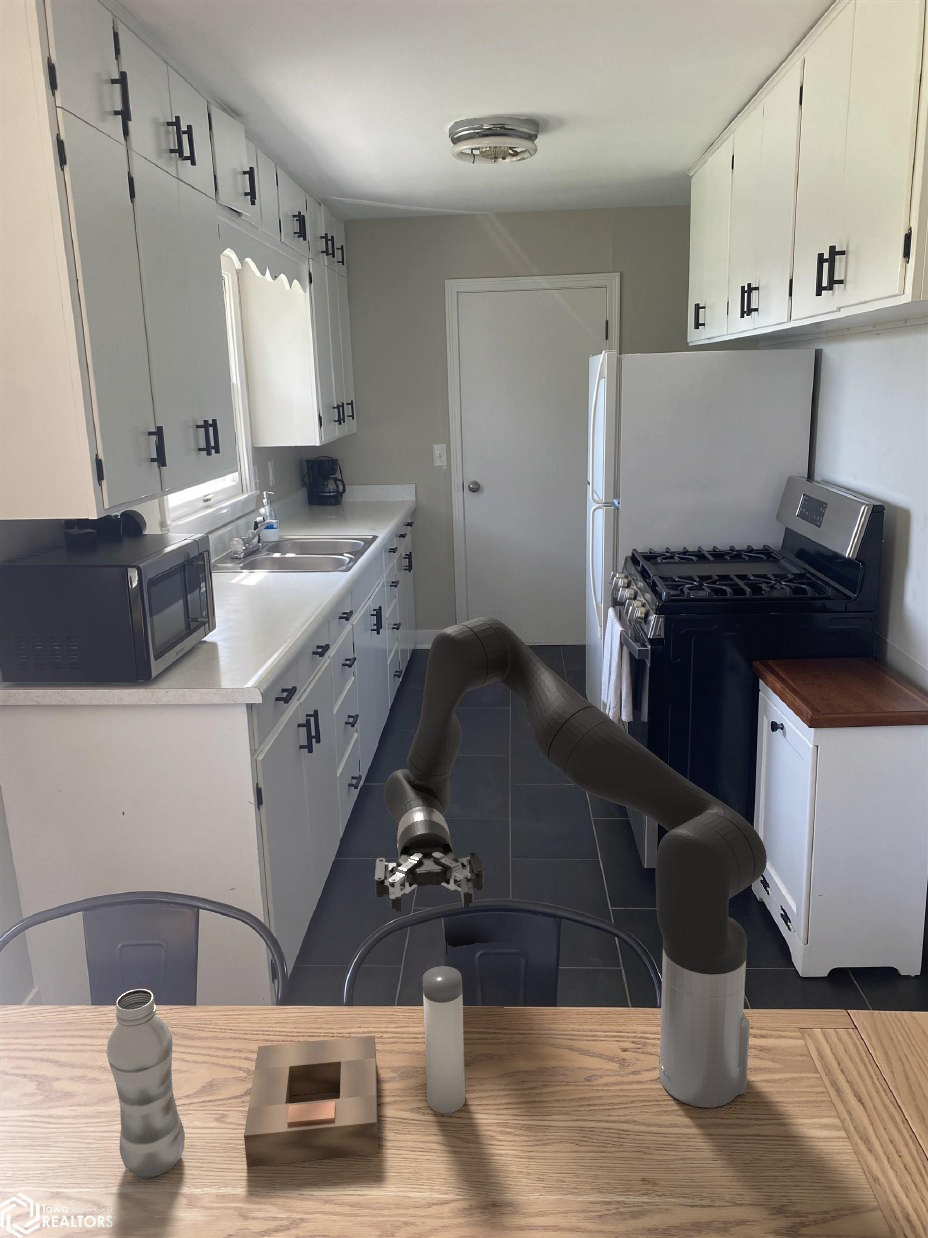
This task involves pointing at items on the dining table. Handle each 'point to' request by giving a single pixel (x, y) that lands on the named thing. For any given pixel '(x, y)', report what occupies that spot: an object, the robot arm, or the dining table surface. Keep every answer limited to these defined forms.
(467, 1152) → the dining table surface
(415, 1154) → the dining table surface
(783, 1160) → the dining table surface
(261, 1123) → the socket block
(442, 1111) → the plug
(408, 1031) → the dining table surface
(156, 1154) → the plastic bottle
